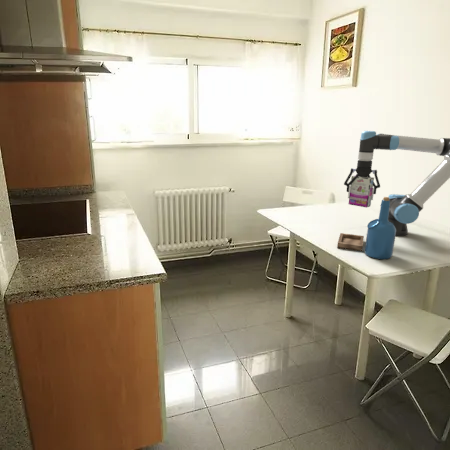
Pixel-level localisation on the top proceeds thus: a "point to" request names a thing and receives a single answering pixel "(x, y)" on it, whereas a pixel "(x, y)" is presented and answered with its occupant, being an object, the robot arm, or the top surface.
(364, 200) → the candy bar box
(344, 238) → the tray
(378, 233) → the wine bottle
